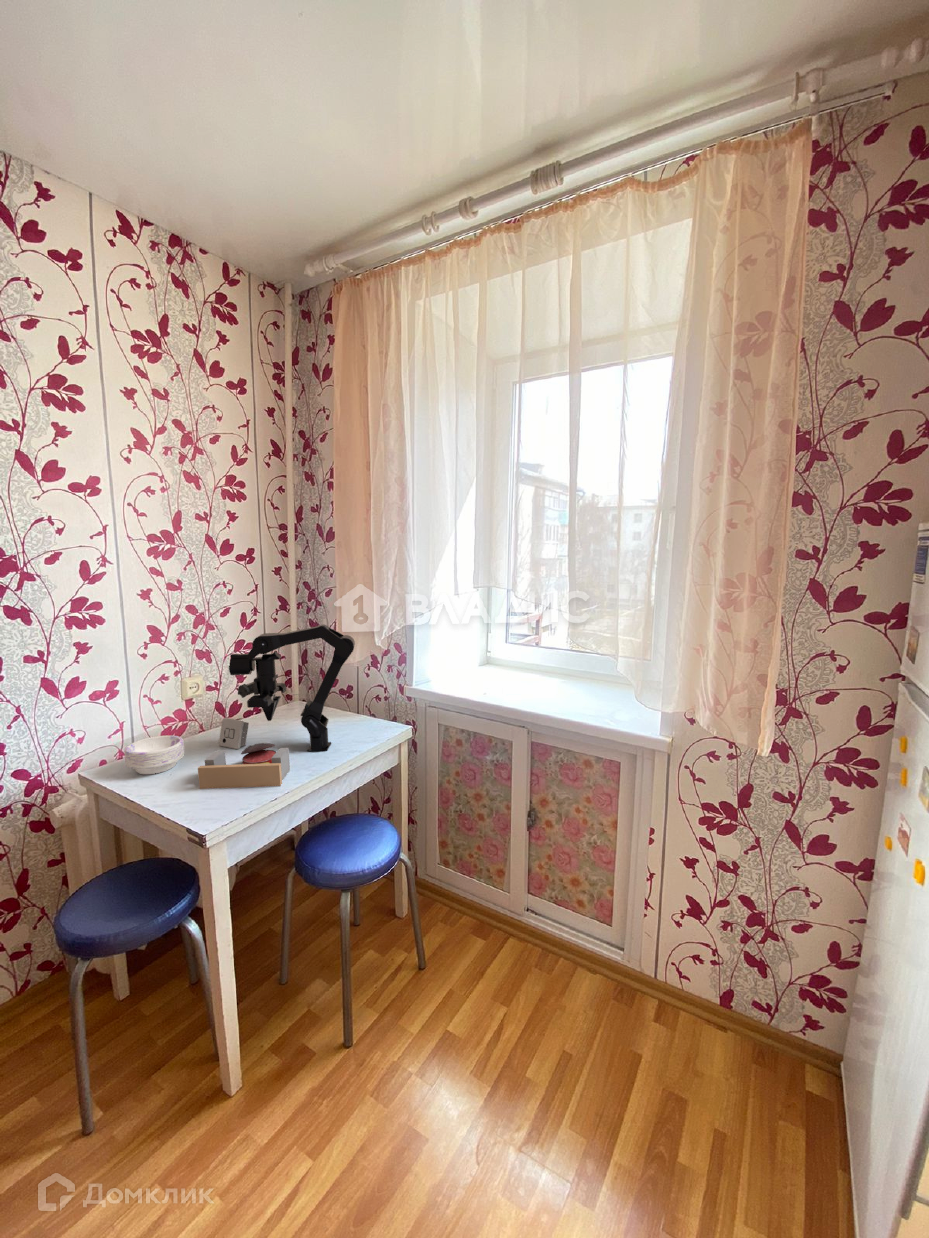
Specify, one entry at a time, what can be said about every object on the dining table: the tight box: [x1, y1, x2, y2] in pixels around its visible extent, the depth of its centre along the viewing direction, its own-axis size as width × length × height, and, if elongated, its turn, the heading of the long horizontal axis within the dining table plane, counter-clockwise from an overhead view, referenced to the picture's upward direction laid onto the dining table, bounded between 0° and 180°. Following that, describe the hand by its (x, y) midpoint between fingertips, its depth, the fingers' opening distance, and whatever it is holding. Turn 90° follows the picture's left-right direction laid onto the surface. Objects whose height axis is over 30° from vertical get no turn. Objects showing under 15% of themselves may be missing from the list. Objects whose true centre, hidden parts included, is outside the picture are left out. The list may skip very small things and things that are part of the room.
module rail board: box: [197, 747, 291, 790], centre depth 141 cm, size 10×22×7 cm, turn 92°
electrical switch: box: [218, 717, 250, 750], centre depth 167 cm, size 9×5×9 cm, turn 65°
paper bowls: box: [124, 735, 185, 775], centre depth 149 cm, size 15×15×8 cm
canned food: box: [240, 742, 277, 764], centre depth 150 cm, size 11×10×10 cm
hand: (269, 720), depth 160 cm, fingers closed
